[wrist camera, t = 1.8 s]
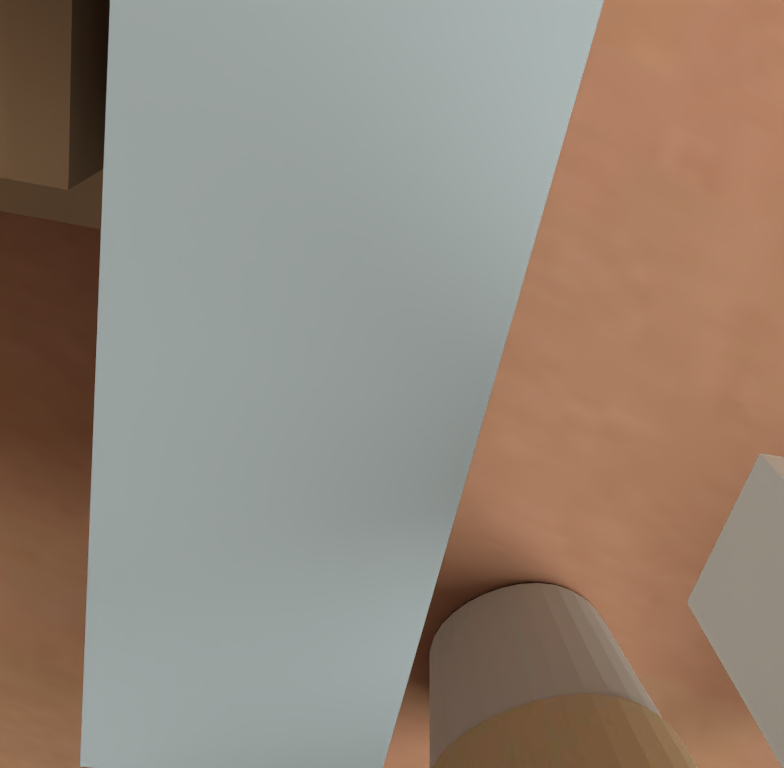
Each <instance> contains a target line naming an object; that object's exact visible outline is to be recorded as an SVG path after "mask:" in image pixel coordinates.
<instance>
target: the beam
mask: <svg viewBox="0 0 784 768" xmlns="http://www.w3.org/2000/svg"><path fill="white" fill-rule="evenodd" d="M603 2H604V0H110V14H109V40H108V65H107V91H106V116H105V142H104V167H103V193H102V218H101V244H100V269H99V295H98V320H97V346H96V372H95V397H94V423H93V448H92V474H91V499H90V525H89V550H88V576H87V601H86V627H85V652H84V678H83V703H82V729H81V755H80V766H81V767H93V768H383V765H384V762H385V758H386V755H387V752H388V748H389V745H390V741H391V738H392V734H393V731H394V727H395V724H396V720H397V717H398V713H399V710H400V706H401V703H402V699H403V696H404V693H405V689H406V686H407V682H408V679H409V675H410V672H411V668H412V665H413V661H414V658H415V654H416V651H417V647H418V644H419V640H420V637H421V634H422V630H423V627H424V623H425V620H426V616H427V613H428V609H429V606H430V602H431V599H432V595H433V592H434V588H435V585H436V581H437V578H438V575H439V571H440V568H441V564H442V561H443V557H444V554H445V550H446V547H447V543H448V540H449V536H450V533H451V529H452V526H453V522H454V519H455V516H456V512H457V509H458V505H459V502H460V498H461V495H462V491H463V488H464V484H465V481H466V477H467V474H468V470H469V467H470V463H471V460H472V457H473V453H474V450H475V446H476V443H477V439H478V436H479V432H480V429H481V425H482V422H483V418H484V415H485V411H486V408H487V404H488V401H489V397H490V394H491V391H492V387H493V384H494V380H495V377H496V373H497V370H498V366H499V363H500V359H501V356H502V352H503V349H504V345H505V342H506V338H507V335H508V332H509V328H510V325H511V321H512V318H513V314H514V311H515V307H516V304H517V300H518V297H519V293H520V290H521V286H522V283H523V279H524V276H525V273H526V269H527V266H528V262H529V259H530V255H531V252H532V248H533V245H534V241H535V238H536V234H537V231H538V227H539V224H540V220H541V217H542V214H543V210H544V207H545V203H546V200H547V196H548V193H549V189H550V186H551V182H552V179H553V175H554V172H555V168H556V165H557V161H558V158H559V155H560V151H561V148H562V144H563V141H564V137H565V134H566V130H567V127H568V123H569V120H570V116H571V113H572V109H573V106H574V102H575V99H576V96H577V92H578V89H579V85H580V82H581V78H582V75H583V71H584V68H585V64H586V61H587V57H588V54H589V50H590V47H591V43H592V40H593V37H594V33H595V30H596V26H597V23H598V19H599V16H600V12H601V9H602V5H603Z"/></svg>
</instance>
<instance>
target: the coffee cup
mask: <svg viewBox="0 0 784 768" xmlns="http://www.w3.org/2000/svg"><path fill="white" fill-rule="evenodd" d="M430 768H698V767H697V765H696V763H695V762H694V760H693V758H692V757H691V755H690V753H689V752H688V750H687V748H686V747H685V745H684V744H683V742H682V741H681V739H680V738H679V736H678V735H677V733H676V732H675V730H674V729H673V728H672V727H671V726H670V725H669V724H668V723H667V722H666V721H665V720H664V719H663V718H662V717H661V716H660V714H659V712H658V711H657V709H656V707H655V706H654V704H653V702H652V701H651V699H650V697H649V696H648V694H647V692H646V690H645V689H644V687H643V685H642V684H641V682H640V680H639V679H638V677H637V675H636V674H635V672H634V670H633V669H632V667H631V665H630V664H629V662H628V660H627V659H626V657H625V655H624V654H623V652H622V650H621V649H620V647H619V645H618V644H617V642H616V640H615V639H614V637H613V635H612V634H611V632H610V630H609V629H608V627H607V625H606V624H605V622H604V621H603V619H602V618H601V616H600V615H599V613H598V612H597V610H596V609H595V608H594V607H593V606H592V605H591V604H590V603H589V602H588V601H587V600H586V599H585V598H583V597H581V596H580V595H578V594H577V593H575V592H573V591H572V590H569V589H566V588H563V587H560V586H558V585H553V584H544V583H527V584H517V585H512V586H508V587H503V588H500V589H497V590H494V591H491V592H488V593H486V594H483V595H481V596H479V597H477V598H475V599H473V600H471V601H469V602H468V603H466V604H465V605H463V606H462V607H461V608H459V609H458V610H456V611H455V612H454V613H452V614H451V615H450V616H449V617H448V618H447V619H446V621H445V622H444V623H443V624H442V625H441V626H440V628H439V630H438V631H437V633H436V634H435V636H434V638H433V642H432V645H431V649H430Z"/></svg>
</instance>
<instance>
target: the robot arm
mask: <svg viewBox="0 0 784 768" xmlns="http://www.w3.org/2000/svg"><path fill="white" fill-rule="evenodd" d="M687 604H688V606H689V608H690V609H691V611H692V613H693V614H694V616H695V618H696V620H697V621H698V623H699V625H700V627H701V628H702V630H703V632H704V634H705V635H706V637H707V639H708V640H709V642H710V644H711V646H712V647H713V649H714V651H715V653H716V654H717V656H718V658H719V660H720V661H721V663H722V665H723V666H724V668H725V670H726V672H727V673H728V675H729V677H730V679H731V680H732V682H733V684H734V686H735V687H736V689H737V691H738V692H739V694H740V696H741V698H742V699H743V701H744V703H745V705H746V706H747V708H748V710H749V712H750V713H751V715H752V717H753V718H754V720H755V722H756V724H757V725H758V727H759V729H760V731H761V732H762V734H763V736H764V738H765V739H766V741H767V743H768V744H769V746H770V748H771V750H772V751H773V753H774V755H775V757H776V758H777V760H778V762H779V764H780V765H781V767H782V768H784V457H781V456H774V455H768V454H761V453H760V454H759V456H758V458H757V460H756V462H755V464H754V466H753V468H752V470H751V472H750V474H749V477H748V479H747V481H746V483H745V485H744V487H743V489H742V491H741V493H740V495H739V497H738V499H737V501H736V503H735V505H734V507H733V509H732V511H731V513H730V515H729V517H728V519H727V521H726V523H725V525H724V528H723V530H722V532H721V534H720V536H719V538H718V540H717V542H716V544H715V546H714V548H713V550H712V552H711V554H710V556H709V558H708V560H707V562H706V564H705V566H704V568H703V570H702V572H701V574H700V576H699V579H698V581H697V583H696V585H695V587H694V589H693V591H692V593H691V595H690V597H689V599H688V601H687Z"/></svg>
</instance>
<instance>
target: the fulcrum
mask: <svg viewBox="0 0 784 768" xmlns="http://www.w3.org/2000/svg"><path fill="white" fill-rule="evenodd" d="M109 14H110V0H0V211H1V212H7V213H12V214H18V215H24V216H29V217H35V218H41V219H46V220H52V221H57V222H63V223H69V224H74V225H80V226H85V227H91V228H97V229H101V218H102V193H103V167H104V142H105V116H106V91H107V65H108V40H109Z"/></svg>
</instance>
